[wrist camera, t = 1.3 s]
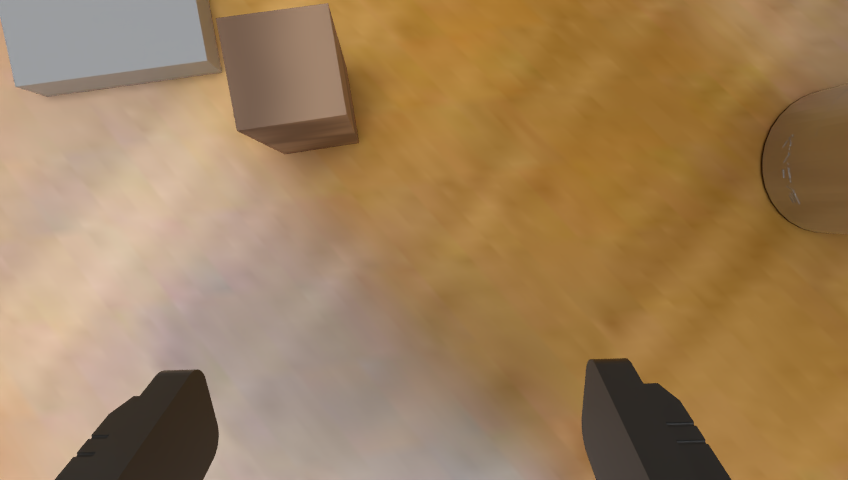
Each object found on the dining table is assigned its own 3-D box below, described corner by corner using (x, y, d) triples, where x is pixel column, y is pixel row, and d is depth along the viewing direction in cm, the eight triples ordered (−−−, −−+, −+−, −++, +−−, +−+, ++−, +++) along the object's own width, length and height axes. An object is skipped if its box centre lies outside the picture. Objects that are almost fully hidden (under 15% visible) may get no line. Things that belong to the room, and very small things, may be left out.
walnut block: (346, 67, 31) (327, 3, 21) (358, 142, 31) (346, 114, 21) (271, 78, 31) (216, 18, 21) (284, 154, 31) (237, 130, 21)
